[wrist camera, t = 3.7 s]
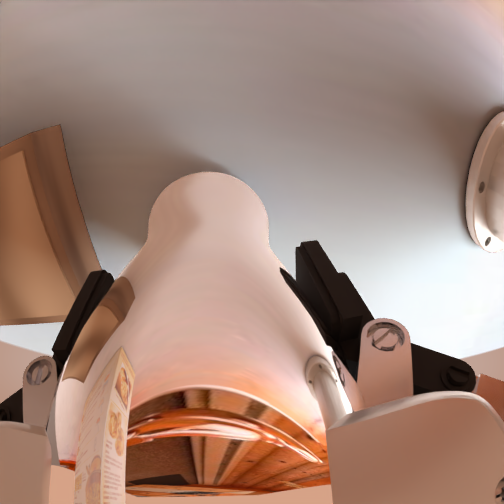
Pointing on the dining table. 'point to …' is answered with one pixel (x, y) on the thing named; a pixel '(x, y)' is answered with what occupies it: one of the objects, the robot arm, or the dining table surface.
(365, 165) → the dining table surface
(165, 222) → the beer glass
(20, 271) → the oak board
